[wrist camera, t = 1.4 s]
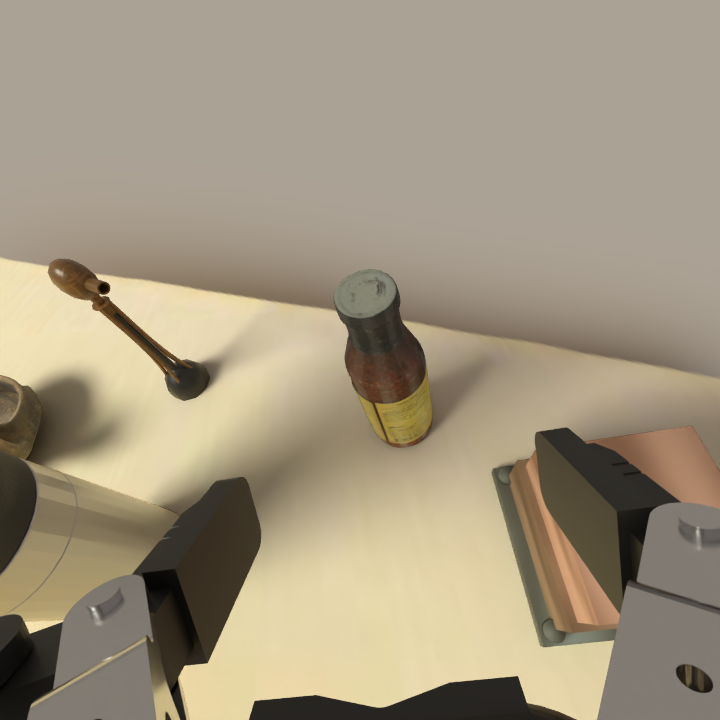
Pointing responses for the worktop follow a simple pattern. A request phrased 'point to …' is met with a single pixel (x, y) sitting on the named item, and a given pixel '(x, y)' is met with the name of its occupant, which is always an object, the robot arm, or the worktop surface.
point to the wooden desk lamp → (129, 327)
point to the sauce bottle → (384, 358)
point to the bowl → (18, 418)
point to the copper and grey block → (556, 554)
